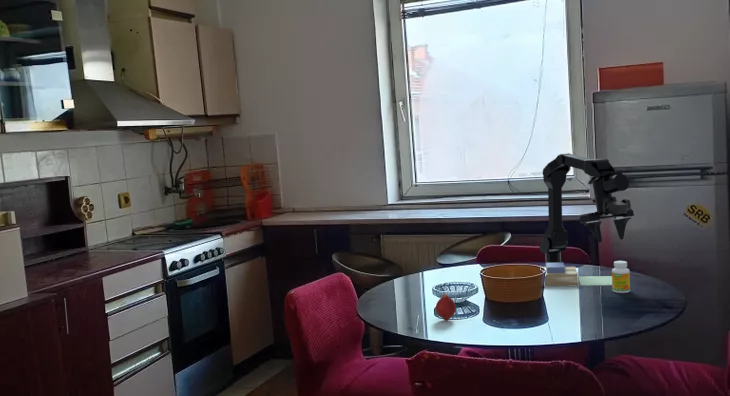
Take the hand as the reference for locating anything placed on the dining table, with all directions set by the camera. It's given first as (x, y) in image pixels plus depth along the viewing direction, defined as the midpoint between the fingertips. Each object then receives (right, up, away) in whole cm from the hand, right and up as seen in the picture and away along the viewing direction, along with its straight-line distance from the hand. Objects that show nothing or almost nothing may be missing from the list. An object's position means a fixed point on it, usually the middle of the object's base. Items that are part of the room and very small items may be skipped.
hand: (611, 240), depth 235 cm
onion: (-59, -22, -29) cm, 69 cm away
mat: (-2, -14, +7) cm, 16 cm away
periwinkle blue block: (-16, -11, +10) cm, 22 cm away
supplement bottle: (0, -16, -9) cm, 18 cm away
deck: (-15, -15, +10) cm, 23 cm away
